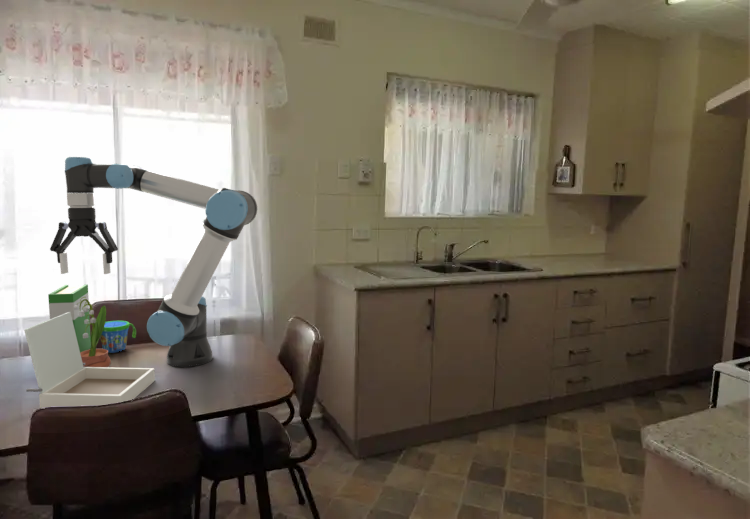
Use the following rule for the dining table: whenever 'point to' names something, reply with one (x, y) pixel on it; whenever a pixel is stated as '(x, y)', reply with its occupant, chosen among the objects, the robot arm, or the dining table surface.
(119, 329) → the snack cup
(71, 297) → the hardback book
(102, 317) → the potted flower
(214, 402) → the dining table surface
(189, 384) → the dining table surface
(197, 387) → the dining table surface
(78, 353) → the white open hinged box
